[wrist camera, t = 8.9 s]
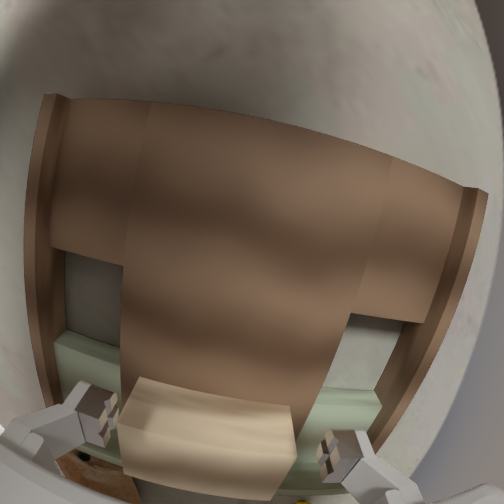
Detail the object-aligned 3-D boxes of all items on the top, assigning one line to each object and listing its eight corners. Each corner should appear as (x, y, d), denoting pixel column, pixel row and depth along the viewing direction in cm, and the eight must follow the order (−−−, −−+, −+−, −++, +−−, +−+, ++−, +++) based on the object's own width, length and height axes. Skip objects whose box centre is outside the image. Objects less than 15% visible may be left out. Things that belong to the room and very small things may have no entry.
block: (139, 376, 17) (116, 422, 13) (289, 405, 18) (297, 456, 13) (140, 431, 18) (124, 473, 14) (267, 456, 19) (269, 501, 15)
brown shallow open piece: (74, 104, 15) (29, 89, 10) (455, 189, 16) (504, 196, 11) (67, 398, 20) (43, 432, 15) (346, 452, 22) (358, 492, 17)
